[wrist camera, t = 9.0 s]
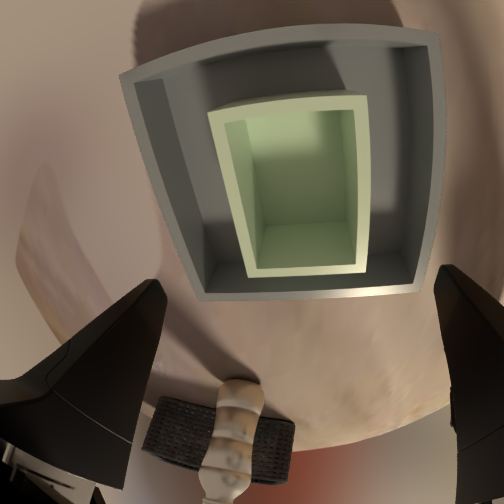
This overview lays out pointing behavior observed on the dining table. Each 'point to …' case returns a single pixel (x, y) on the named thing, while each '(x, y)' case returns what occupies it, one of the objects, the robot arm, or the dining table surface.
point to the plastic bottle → (231, 441)
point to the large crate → (285, 81)
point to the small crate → (297, 180)
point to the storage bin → (203, 418)
